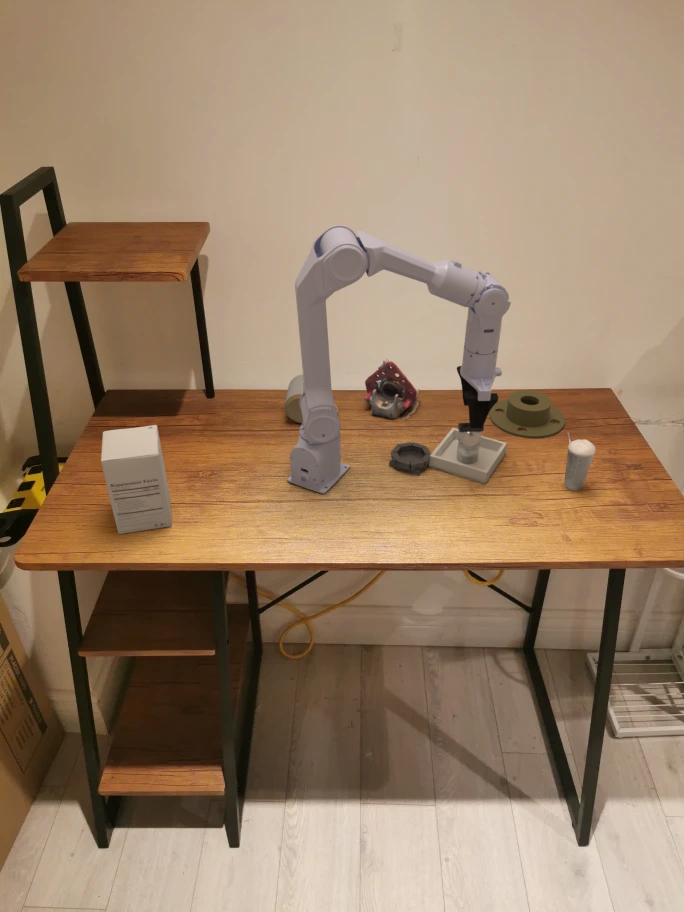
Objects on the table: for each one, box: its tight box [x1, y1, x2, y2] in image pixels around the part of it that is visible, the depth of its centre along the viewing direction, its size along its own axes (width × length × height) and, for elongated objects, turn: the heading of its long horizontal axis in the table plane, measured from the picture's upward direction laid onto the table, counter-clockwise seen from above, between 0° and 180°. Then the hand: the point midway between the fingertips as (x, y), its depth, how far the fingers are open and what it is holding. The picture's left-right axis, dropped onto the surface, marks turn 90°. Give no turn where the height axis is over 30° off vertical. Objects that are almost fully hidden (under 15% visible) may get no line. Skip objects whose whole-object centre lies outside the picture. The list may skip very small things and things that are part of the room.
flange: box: [489, 389, 566, 439], centre depth 147 cm, size 5×15×15 cm
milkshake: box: [563, 431, 596, 492], centre depth 126 cm, size 4×5×10 cm
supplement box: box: [100, 424, 173, 535], centre depth 118 cm, size 9×9×15 cm
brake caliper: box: [364, 358, 421, 420], centre depth 150 cm, size 11×11×12 cm
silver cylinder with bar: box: [456, 422, 485, 464], centre depth 133 cm, size 4×4×7 cm
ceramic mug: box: [284, 373, 339, 424], centre depth 147 cm, size 11×8×8 cm
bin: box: [428, 427, 508, 485], centre depth 135 cm, size 11×11×2 cm
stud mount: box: [388, 441, 432, 476], centre depth 134 cm, size 7×7×2 cm
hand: (472, 415), depth 130 cm, fingers open, 7 cm apart
